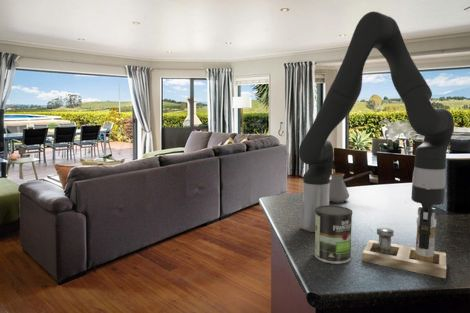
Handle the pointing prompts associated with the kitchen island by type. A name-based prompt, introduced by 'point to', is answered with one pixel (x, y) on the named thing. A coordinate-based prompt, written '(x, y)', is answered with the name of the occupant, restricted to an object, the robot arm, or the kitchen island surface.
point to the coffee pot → (340, 187)
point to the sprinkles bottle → (428, 253)
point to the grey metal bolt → (385, 240)
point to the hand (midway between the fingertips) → (424, 242)
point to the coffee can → (333, 234)
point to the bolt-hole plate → (405, 259)
